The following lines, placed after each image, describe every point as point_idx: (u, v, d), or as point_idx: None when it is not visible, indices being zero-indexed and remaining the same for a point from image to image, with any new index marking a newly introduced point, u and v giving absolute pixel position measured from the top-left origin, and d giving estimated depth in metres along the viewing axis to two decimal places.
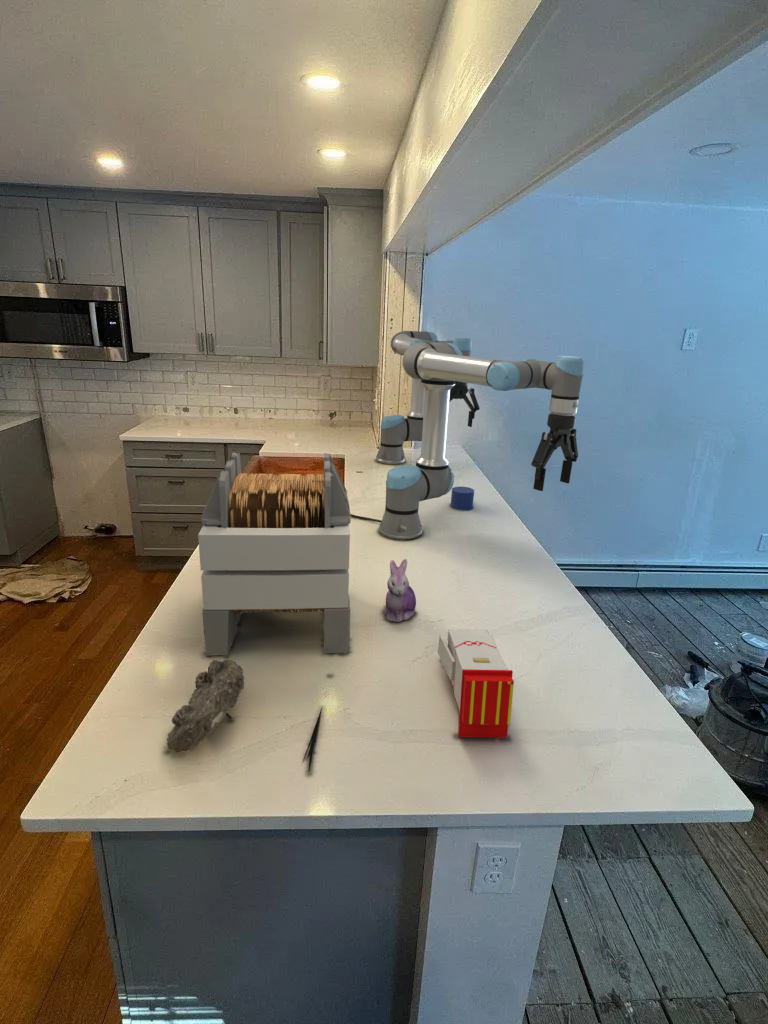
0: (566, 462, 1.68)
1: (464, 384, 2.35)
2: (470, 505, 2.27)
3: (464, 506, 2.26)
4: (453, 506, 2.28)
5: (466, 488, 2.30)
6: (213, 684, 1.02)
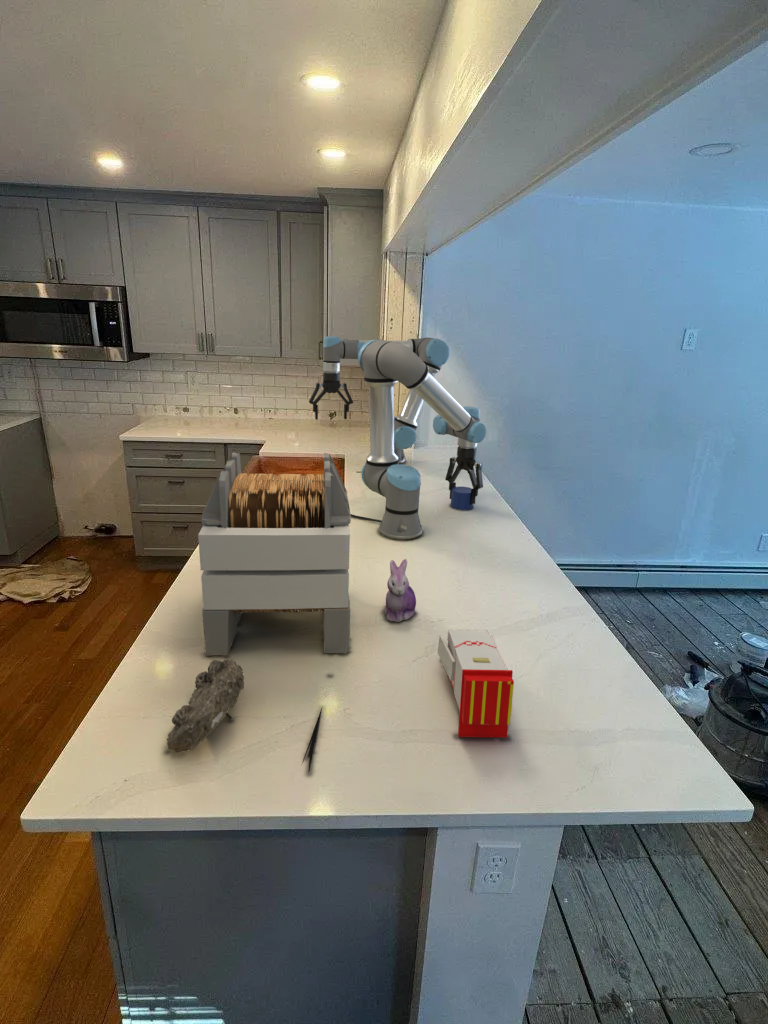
0: (453, 484, 2.30)
1: (334, 379, 2.54)
2: (470, 505, 2.27)
3: (464, 506, 2.26)
4: (453, 506, 2.28)
5: (466, 488, 2.30)
6: (213, 684, 1.02)
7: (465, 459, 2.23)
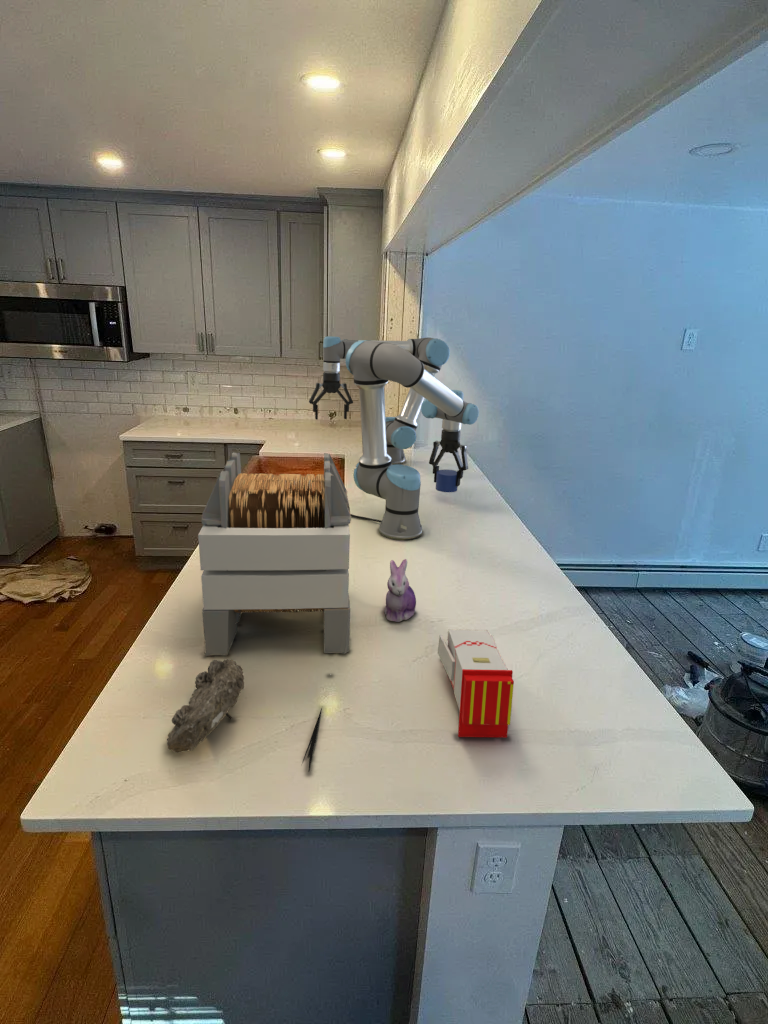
0: (437, 467, 2.33)
1: (334, 379, 2.54)
2: (456, 487, 2.31)
3: (451, 488, 2.30)
4: (439, 489, 2.31)
5: (450, 471, 2.34)
6: (213, 684, 1.02)
7: (450, 442, 2.26)
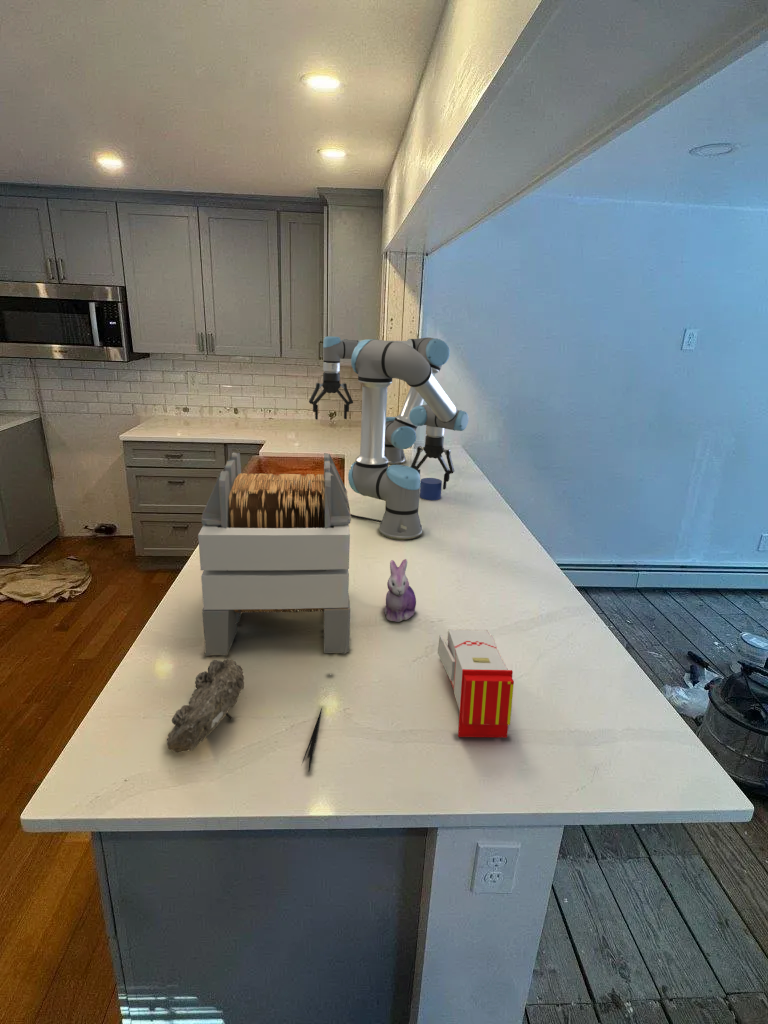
0: (419, 471, 2.39)
1: (334, 379, 2.54)
2: (440, 494, 2.39)
3: (436, 496, 2.37)
4: (425, 497, 2.37)
5: (432, 479, 2.40)
6: (213, 684, 1.02)
7: (434, 447, 2.33)
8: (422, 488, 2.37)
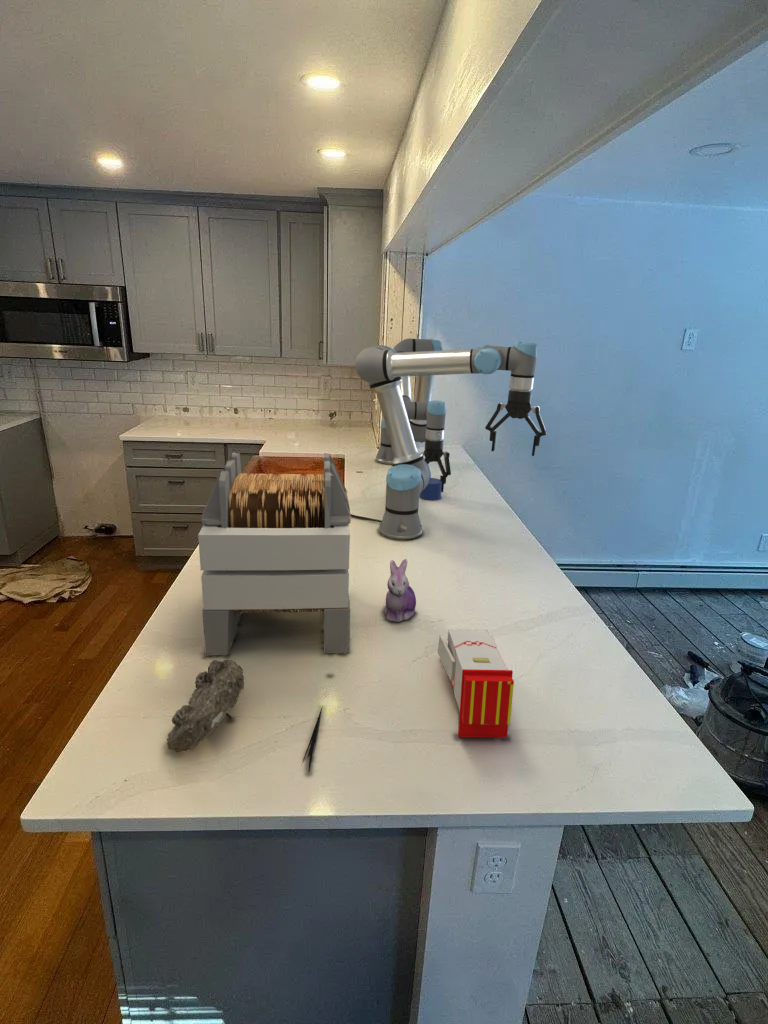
0: (495, 433, 1.94)
1: (439, 448, 2.31)
2: (440, 494, 2.39)
3: (436, 496, 2.37)
4: (425, 497, 2.37)
5: (432, 479, 2.40)
6: (213, 684, 1.02)
7: (519, 405, 1.88)
8: None
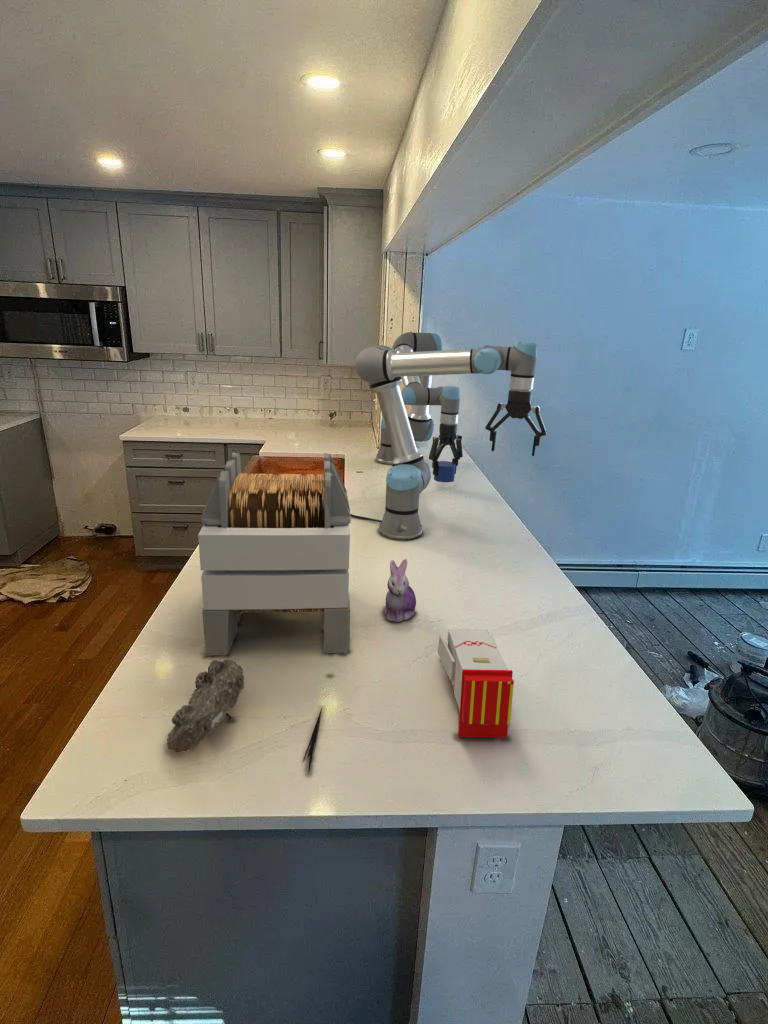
0: (495, 433, 1.94)
1: (454, 431, 2.40)
2: (454, 476, 2.48)
3: (451, 478, 2.46)
4: (441, 480, 2.46)
5: (445, 462, 2.49)
6: (213, 684, 1.02)
7: (519, 405, 1.88)
8: (438, 471, 2.45)
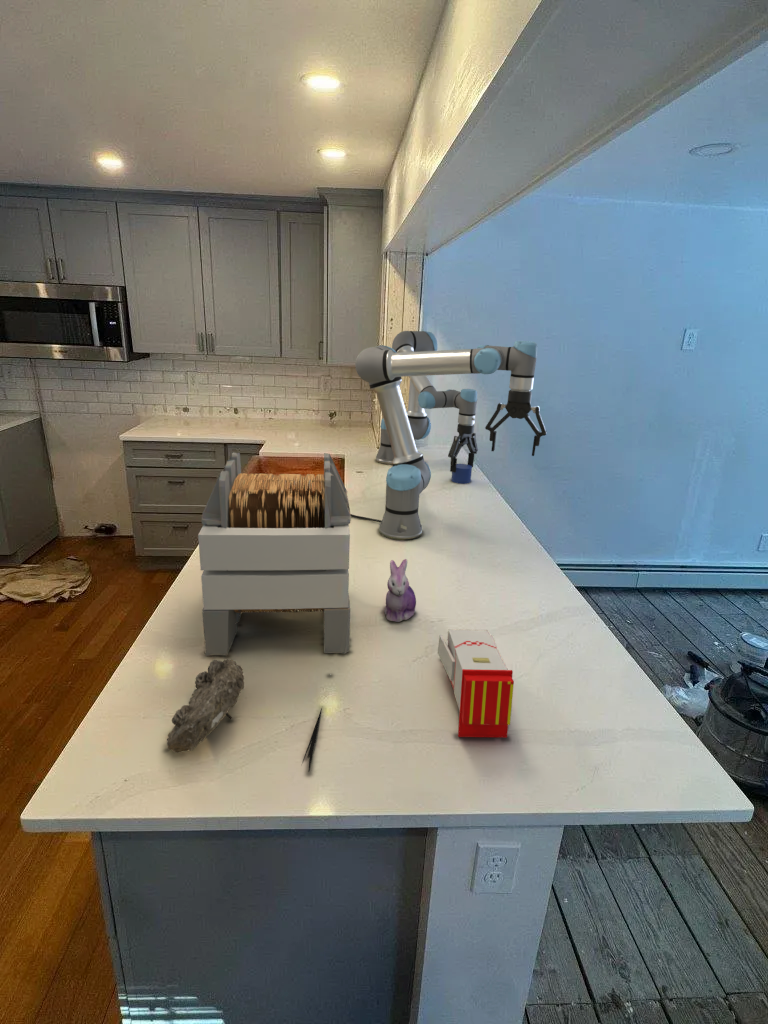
0: (495, 433, 1.94)
1: (473, 431, 2.56)
2: None
3: (470, 479, 2.63)
4: (461, 482, 2.61)
5: (460, 464, 2.65)
6: (213, 684, 1.02)
7: (519, 405, 1.88)
8: (458, 474, 2.60)
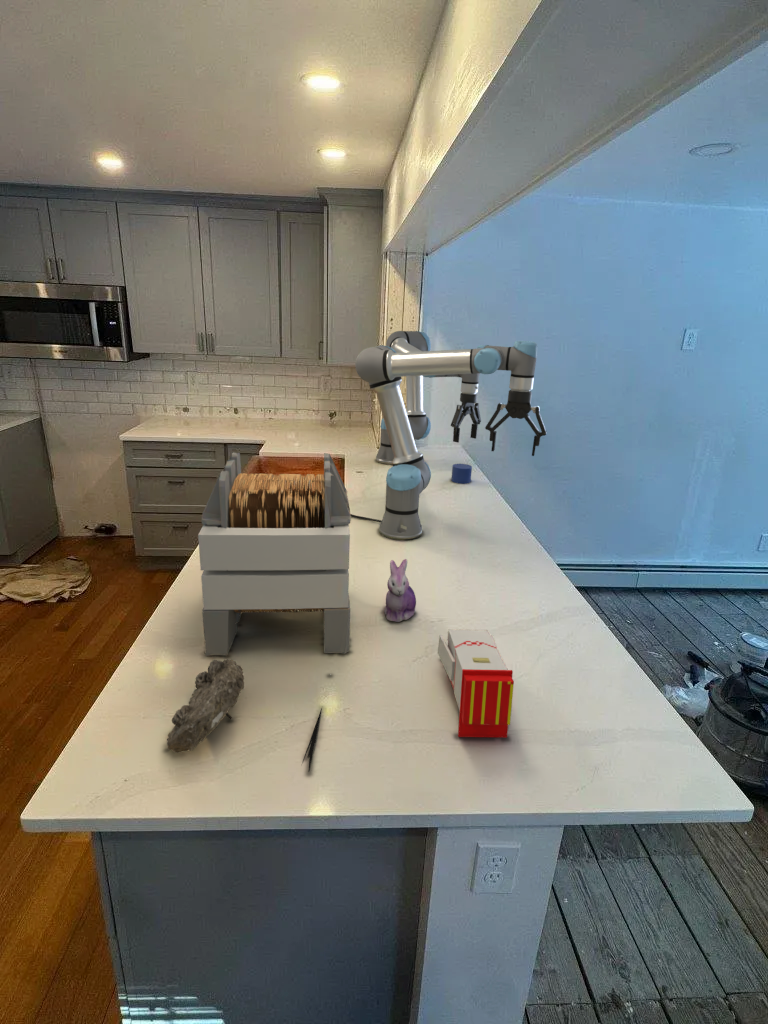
0: (495, 433, 1.94)
1: (476, 400, 2.51)
2: None
3: (470, 479, 2.63)
4: (461, 482, 2.61)
5: (460, 464, 2.65)
6: (213, 684, 1.02)
7: (519, 405, 1.88)
8: (458, 474, 2.60)
